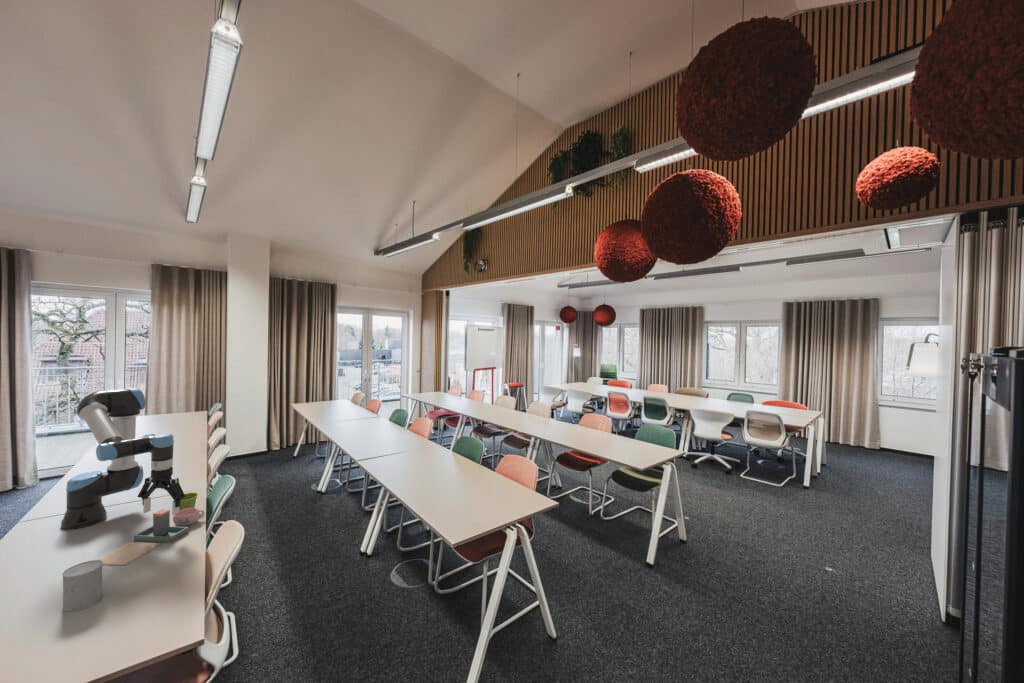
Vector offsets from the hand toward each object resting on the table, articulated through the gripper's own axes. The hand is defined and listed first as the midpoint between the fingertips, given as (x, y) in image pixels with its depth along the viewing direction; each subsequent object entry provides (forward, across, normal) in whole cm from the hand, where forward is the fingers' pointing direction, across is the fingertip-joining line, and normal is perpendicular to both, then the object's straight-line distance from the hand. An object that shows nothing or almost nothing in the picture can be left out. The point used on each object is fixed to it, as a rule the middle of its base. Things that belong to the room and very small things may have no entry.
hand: (161, 512), depth 179 cm
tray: (+11, +1, 0) cm, 11 cm away
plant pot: (+12, -8, +23) cm, 27 cm away
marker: (+11, +1, 0) cm, 11 cm away
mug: (+12, +2, +13) cm, 17 cm away
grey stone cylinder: (+11, +13, -43) cm, 46 cm away
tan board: (+11, -1, -14) cm, 18 cm away
